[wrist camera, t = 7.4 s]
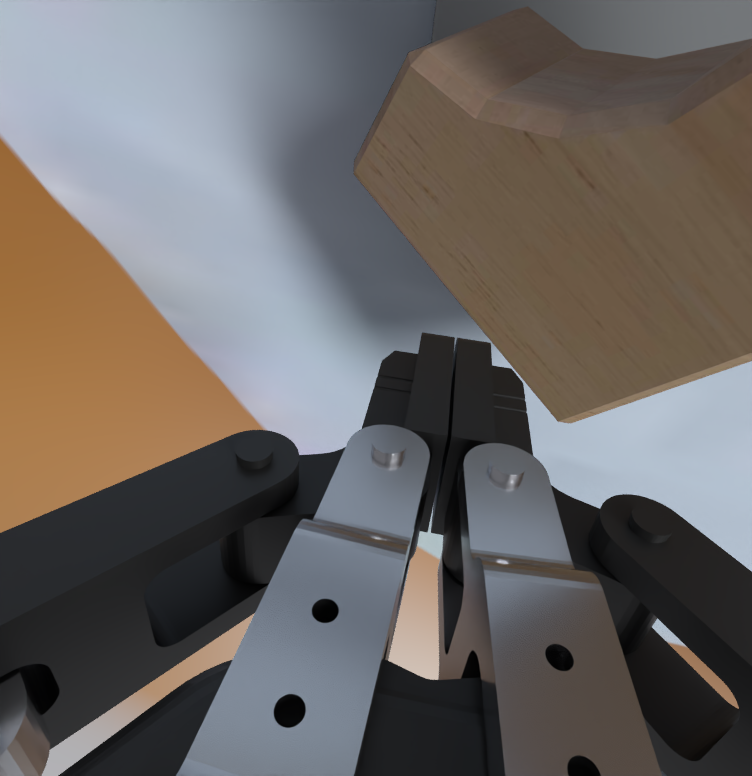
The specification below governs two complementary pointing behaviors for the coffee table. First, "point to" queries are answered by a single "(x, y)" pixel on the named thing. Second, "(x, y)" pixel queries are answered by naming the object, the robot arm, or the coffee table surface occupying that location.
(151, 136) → the coffee table surface
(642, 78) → the decorative block
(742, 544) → the coffee table surface
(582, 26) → the mat
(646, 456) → the coffee table surface
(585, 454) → the coffee table surface
